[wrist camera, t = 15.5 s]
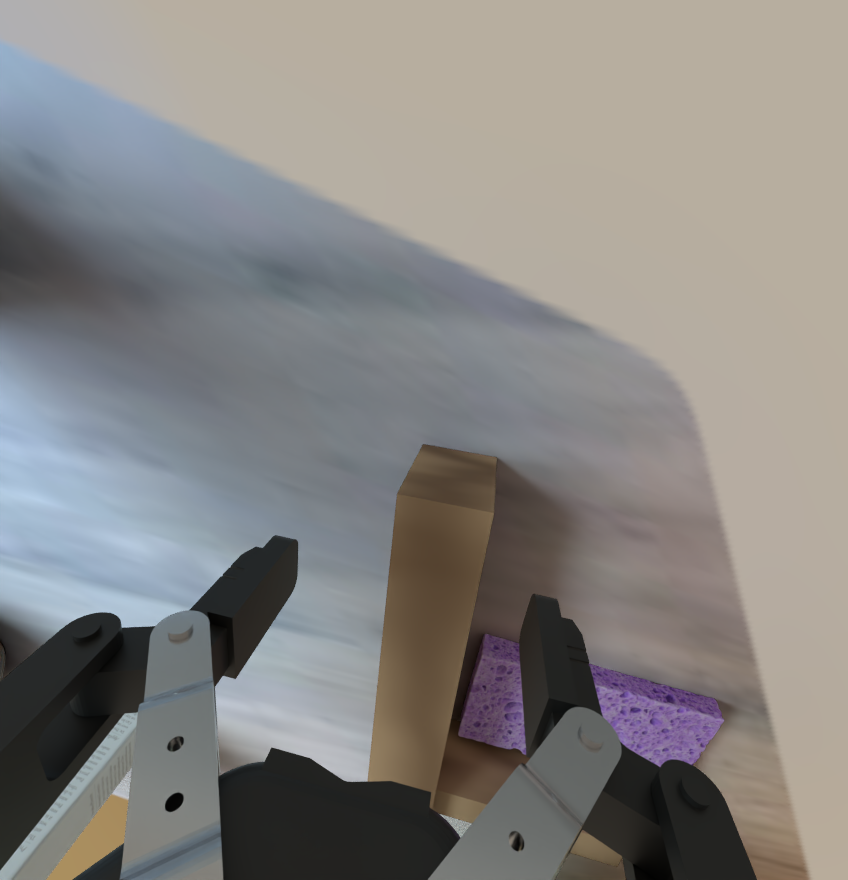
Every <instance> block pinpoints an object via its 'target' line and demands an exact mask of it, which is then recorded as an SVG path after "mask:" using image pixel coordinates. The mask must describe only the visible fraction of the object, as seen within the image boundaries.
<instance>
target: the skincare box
mask: <svg viewBox="0 0 848 880" xmlns="http://www.w3.org/2000/svg"><path fill="white" fill-rule="evenodd" d="M137 715H138V713H126V714H124V715H123V716H122V718H121V719H120V720H119V721H118V723H117V724H116V725H115V726H114V728H113V729H112V730H111V731H110V733H109V734H108V735H107V737H106V738H105V739H104V740H103V742H102V743H101V744H100V745H99V747H98V748H97V749H96V750H95V752H94V753H93V754H92V755H91V757H90V758H89V759H88V760H87V762H86V763H85V764H84V766H83V767H82V768H81V769H80V771H79V772H78V773H77V774H76V776H75V777H74V778H73V779H72V781H71V782H70V783H69V784H68V786H67V787H66V788H65V790H64V791H63V792H62V793H61V795H60V796H59V797H58V798H57V800H56V801H55V802H54V803H53V805H52V806H51V807H50V808H49V810H48V811H47V812H46V814H45V815H44V816H43V817H42V819H41V820H40V821H39V822H38V824H37V825H36V826H35V827H34V829H33V830H32V831H31V832H30V834H29V835H28V836H27V837H26V839H25V840H24V841H23V843H22V844H21V845H20V846H19V848H18V849H17V850H16V851H15V853H14V854H13V855H12V856H11V858H10V859H9V860H8V861H7V863H6V864H5V865H4V867H3V868H2V869H1V870H0V880H46V879H47V878H48V876H49V875H50V874H51V872H52V871H53V870H54V868H55V867H56V866H57V864H58V863H59V862H60V860H61V859H62V858H63V857H64V855H65V854H66V853H67V851H68V850H69V849H70V847H71V846H72V845H73V843H74V842H75V841H76V839H77V838H78V837H79V835H80V834H81V833H82V832H83V830H84V829H85V827H86V826H87V825H88V824H89V822H90V821H91V820H92V818H93V817H94V816H95V814H96V813H97V812H98V810H99V809H100V808H101V807H102V805H103V804H104V803H105V801H106V800H107V799H108V797H109V796H110V795H111V794H112V792H113V791H114V790H115V788H116V787H117V786H118V784H119V783H120V782H121V780H122V779H123V778H124V776H125V775H126V774H127V772H128V771H129V770H130V769H131V767H132V763H133V754H134V744H135V734H136V725H137Z"/></svg>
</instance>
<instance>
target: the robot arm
mask: <svg viewBox="0 0 848 880" xmlns="http://www.w3.org/2000/svg"><path fill="white" fill-rule="evenodd" d="M297 571H298V541H297V540H295V539H290V538H286V537H282V536H277V535H275V536H273V537H272V538H271V540H270V541H269V542H268V543H267V544H266V545H265V546H264V548H259V547H254V548H253V549H251V550H249V551H247V552H245V553H244V554H242V555H241V556H240V557H239V558H238V559H237V560H236V561H235V562H234V563H233V564H232V565H231V568H229V569H228V570H227V571H226V572H225V573H224V574H223V576H222V577H220V578H219V579H218V580H217V581H216V582H215V584H214V585H213V586H212V587H211V588H210V589H209V590H208V591H207V592H206V593H205V594H204V595H203V596H202V597H201V598H200V600H199V601H198V602H197V603H196V604H195V605H194V606H193V607H192V608H191V609H190V610H189V611H182V612H178V613H175V614H172V615H170V616H168V617H166V618H165V619H163V620H162V621H161V622H159V623H158V624H157V625H156V626H152V627H130V628H122V627H121V622H120V619H119V618H118V617H117V616H116V615H114V614H111V613H94V614H89V615H86V616H83V617H81V618H78V619H76V620H74V621H72V622H71V623H69V624H67V625H66V626H65V627H64V628H62V629H61V630H60V631H59V632H58V633H56V634H55V635H54V636H53V637H52V638H51V639H49V640H48V641H47V642H46V643H45V644H44V645H42V646H41V647H40V648H39V649H38V650H37V651H35V652H34V653H33V654H32V655H31V656H30V657H28V658H27V659H26V660H25V661H24V662H23V663H21V664H20V665H19V666H18V667H17V668H16V669H14V670H13V671H12V672H11V673H10V674H9V675H7V676H6V677H5V678H4V679H3V680H2V681H0V870H1V869H2V868H3V867H4V865H5V864H6V863H7V861H8V860H9V859H10V858H11V856H12V855H13V854H14V853H15V851H16V850H17V849H18V848H19V846H20V845H21V844H22V843H23V841H24V840H25V839H26V837H27V836H28V835H29V834H30V832H31V831H32V830H33V829H34V827H35V826H36V825H37V824H38V822H39V821H40V820H41V819H42V817H43V816H44V815H45V814H46V812H47V811H48V810H49V808H50V807H51V806H52V805H53V803H54V802H55V801H56V800H57V798H58V797H59V796H60V795H61V793H62V792H63V791H64V790H65V788H66V787H67V786H68V784H69V783H70V782H71V781H72V779H73V778H74V777H75V776H76V774H77V773H78V772H79V771H80V769H81V768H82V767H83V766H84V764H85V763H86V762H87V760H88V759H89V758H90V757H91V755H92V754H93V753H94V752H95V750H96V749H97V748H98V747H99V745H100V744H101V743H102V742H103V740H104V739H105V738H106V737H107V735H108V734H109V733H110V731H111V730H112V729H113V728H114V726H115V725H116V724H117V723H118V721H119V720H120V719H121V718H122V716H123V715H124V714H126V713H138V715H137V725H136V734H135V744H134V754H133V763H132V773H131V782H130V792H129V802H128V811H127V821H126V831H125V840H124V843H123V844H122V845H121V846H119V847H118V848H116V849H115V850H113V851H112V852H111V853H109V854H108V855H107V856H105V857H104V858H102V859H101V860H99V861H98V862H97V863H95V864H94V865H92V866H91V867H90V868H88V869H87V870H85V871H84V872H83V873H81V874H80V875H78V876H77V877H76V878H74V879H73V880H555V879H556V877H557V875H558V874H559V872H560V870H561V868H562V866H563V865H564V863H565V861H566V859H567V857H568V856H569V854H570V852H571V850H572V848H573V847H574V845H575V843H576V841H577V839H578V838H579V836H580V834H581V832H582V830H584V831H585V832H587V833H588V834H590V835H591V836H593V837H594V838H596V839H597V840H599V841H600V842H602V843H603V844H605V845H606V846H608V847H609V848H610V849H612V850H613V851H615V852H616V853H618V854H619V855H621V856H622V859H623V864H624V870H625V876H626V880H757V878H756V876H755V873H754V871H753V868H752V866H751V863H750V861H749V858H748V856H747V853H746V851H745V848H744V846H743V843H742V841H741V838H740V836H739V833H738V831H737V828H736V826H735V823H734V821H733V818H732V816H731V813H730V811H729V808H728V806H727V803H726V801H725V799H724V797H723V796H722V794H721V792H720V791H719V790H718V788H717V787H716V785H715V784H714V783H713V782H712V781H711V780H710V779H709V778H708V777H707V776H706V775H705V774H704V773H703V772H701V771H700V770H699V769H697V768H696V767H694V766H693V765H691V764H689V763H687V762H684V761H681V760H674V759H672V760H667V761H665V762H664V763H663V764H662V765H661V767H659V766H658V765H656V764H654V763H652V762H651V761H649V760H647V759H645V758H644V757H642V756H640V755H638V754H637V753H635V752H633V751H632V750H630V749H629V748H627V747H626V746H625V745H623V744H622V743H621V742H620V740H619V737H618V735H617V733H616V731H615V730H614V728H613V727H612V726H611V725H610V723H609V722H608V721H607V720H606V719H605V718H604V717H603V715H602V712H601V708H600V704H599V700H598V696H597V692H596V688H595V684H594V680H593V676H592V672H591V668H590V666H589V660H588V656H587V653H586V648H585V644H584V640H583V636H582V634H581V632H580V631H579V629H578V628H577V626H576V625H575V623H574V622H573V620H571V619H566V618H562V617H561V614H560V609H559V604H558V601H557V599H554V598H550V597H545V596H541V595H536V594H533V595H532V597H531V599H530V603H529V606H528V609H527V612H526V615H525V619H524V622H523V625H522V628H521V633H520V640H519V654H520V669H521V684H522V698H523V713H524V728H525V743H526V757H528V758H530V759H529V761H528V762H527V763H526V764H525V765H524V764H523V763H521V764H520V765H519V766H518V767H517V768H516V769H515V770H514V771H513V773H512V774H511V775H510V776H509V778H508V779H507V780H506V781H505V783H504V784H503V785H502V786H501V788H500V789H499V790H498V792H497V793H496V794H495V795H494V797H493V798H492V799H491V800H490V802H489V803H488V804H487V805H486V807H485V808H484V809H483V811H482V812H481V813H480V814H479V816H478V817H477V818H476V819H475V821H474V822H473V823H472V824H471V826H470V827H469V828H468V829H467V831H466V832H465V833H464V835H463V836H462V837H461V838H460V836H459V835H458V834H457V832H456V831H455V830H454V828H453V827H452V826H451V825H450V824H449V823H448V822H447V821H446V820H445V819H444V818H443V817H442V816H441V815H439V814H438V813H437V812H436V811H434V810H433V809H431V808H430V799H431V792H429V791H425V790H422V789H418V788H415V787H411V786H407V785H404V784H400V783H397V782H393V781H371V782H346V781H344V780H342V779H340V778H339V777H337V776H336V775H334V774H333V773H331V772H330V771H328V770H327V769H325V768H324V767H322V766H321V765H319V764H318V763H316V762H315V761H313V760H312V759H310V758H307V757H304V756H300V755H296V754H293V753H289V752H286V751H282V750H279V749H275V748H271V750H270V752H269V754H268V756H267V758H266V760H265V762H257V763H251V764H247V765H243V766H240V767H237V768H235V769H232V770H230V771H228V772H226V773H224V774H222V775H220V761H219V746H218V730H217V714H216V697H215V686H216V685H217V683H218V682H219V680H220V679H221V677H222V676H227V677H231V678H234V679H236V678H237V676H238V675H239V673H240V671H241V670H242V668H243V667H244V665H245V664H246V662H247V661H248V659H249V658H250V656H251V655H252V653H253V652H254V650H255V649H256V647H257V646H258V644H259V643H260V641H261V639H262V638H263V636H264V635H265V633H266V632H267V630H268V629H269V627H270V626H271V624H272V623H273V621H274V620H275V618H276V617H277V615H278V614H279V612H280V610H281V609H282V607H283V606H284V604H285V603H286V601H287V600H288V598H289V597H290V595H291V594H292V592H293V590H294V587H295V584H296V580H297Z"/></svg>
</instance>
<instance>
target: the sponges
mask: <svg viewBox="0 0 848 880" xmlns="http://www.w3.org/2000/svg"><path fill="white" fill-rule="evenodd" d="M589 666H590V668H591V672H592V676H593V680H594V684H595V688H596V692H597V696H598V700H599V704H600V708H601V712H602V715H603V717H604V718H605V719H606V720H607V721H608V722H609V723H610V725H611V726H612V727H613V728H614V730H615V731H616V733H617V735H618V737H619V740H620V742H621V743H622V744H623V745H625V746H626V747H627V748H629V749H630V750H632V751H633V752H635V753H637V754H638V755H640V756H642V757H644V758H645V759H647V760H649V761H651V762H652V763H654V764H656V765H658V766H659V767H661V765H662V764H663V763H664V762H665V761H667V760H672V759H674V760H681V761H684V762H687V763H689V764H691V765H693V763H695V762H696V761H697V759H698V758H699V757H700V755H701V752H702V751H704V750H705V749H706V747H705V746H706V744H709V740H711V739H713V737H714V736H715V734H716V732H718V730H719V728H720V726H721V724H722V723H723V722H724V719H723V718H722V713H721V711H720V710H719V706H718V704H717V701H716V700H715V699H714V698H709V697H705V696H702V695H696V694H694V693H691V692H688V691H684V690H680V689H674V688H672V687H669V686H666V685H663V684H655V683H653V682H651V681H648V680H645V679H640V678H637V677H633V676H630V675H625V674H622V673H620V672H616V671H612V670H609V669H605V668H602V667H598V666H595V665H592V664H589ZM460 720H461V721H460V727H459V732H458V735H459V736H460V737H464V738H468V739H473V740H476V741H479V742H485V743H487V744H490V745H493V746H497V747H502V748H505V749H513V748H516V749H519V750H520V751H521V752H522V754H525V755H526V743H525V728H524V713H523V698H522V684H521V669H520V654H519V643H516V642H513V641H509V640H506V639H502V638H498V637H494V636H491V635H488V634H484V635H483V639H482V642H481V646H480V649H479V653H478V655H477V660H476V663H475V667H474V670H473V673H472V677H471V681H470V684H469V687H468V691H467V695H466V699H465V701H464V705H463V709H462V713H461V719H460Z"/></svg>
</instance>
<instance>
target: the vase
mask: <svg viewBox="0 0 848 880" xmlns="http://www.w3.org/2000/svg"><path fill="white" fill-rule="evenodd" d="M5 662H6V655H5V651H4V648H3V646H2V644H1V642H0V681H2V677H3V672H4V667H5Z"/></svg>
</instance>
